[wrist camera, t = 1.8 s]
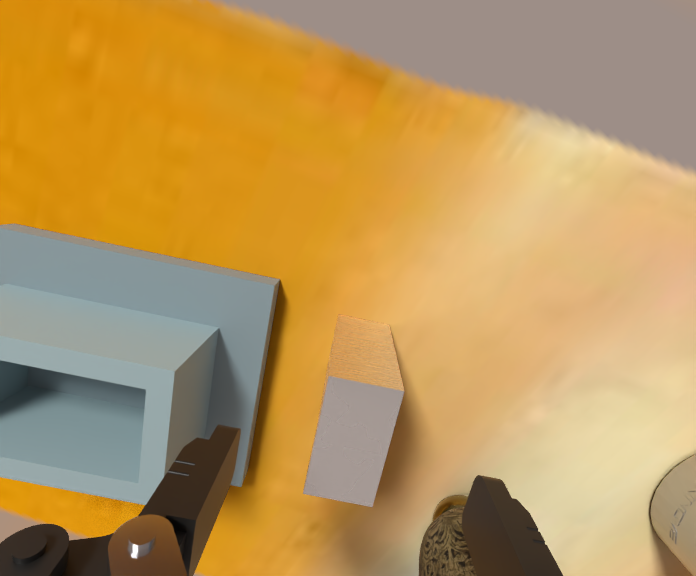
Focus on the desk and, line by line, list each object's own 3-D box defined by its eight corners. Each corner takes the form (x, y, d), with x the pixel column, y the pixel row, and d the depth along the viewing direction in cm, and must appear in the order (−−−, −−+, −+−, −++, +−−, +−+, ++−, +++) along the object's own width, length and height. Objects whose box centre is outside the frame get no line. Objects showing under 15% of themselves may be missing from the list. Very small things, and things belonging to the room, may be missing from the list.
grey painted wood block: (389, 324, 23) (404, 391, 16) (368, 408, 25) (372, 507, 17) (338, 313, 23) (328, 375, 16) (320, 398, 25) (303, 493, 17)
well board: (280, 279, 23) (246, 317, 16) (247, 470, 26) (209, 567, 20) (14, 223, 22) (-134, 238, 16) (18, 425, 26) (-103, 508, 19)
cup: (457, 569, 28) (495, 713, 20) (382, 515, 27) (392, 646, 19) (532, 507, 27) (603, 638, 19) (455, 447, 25) (498, 560, 18)
